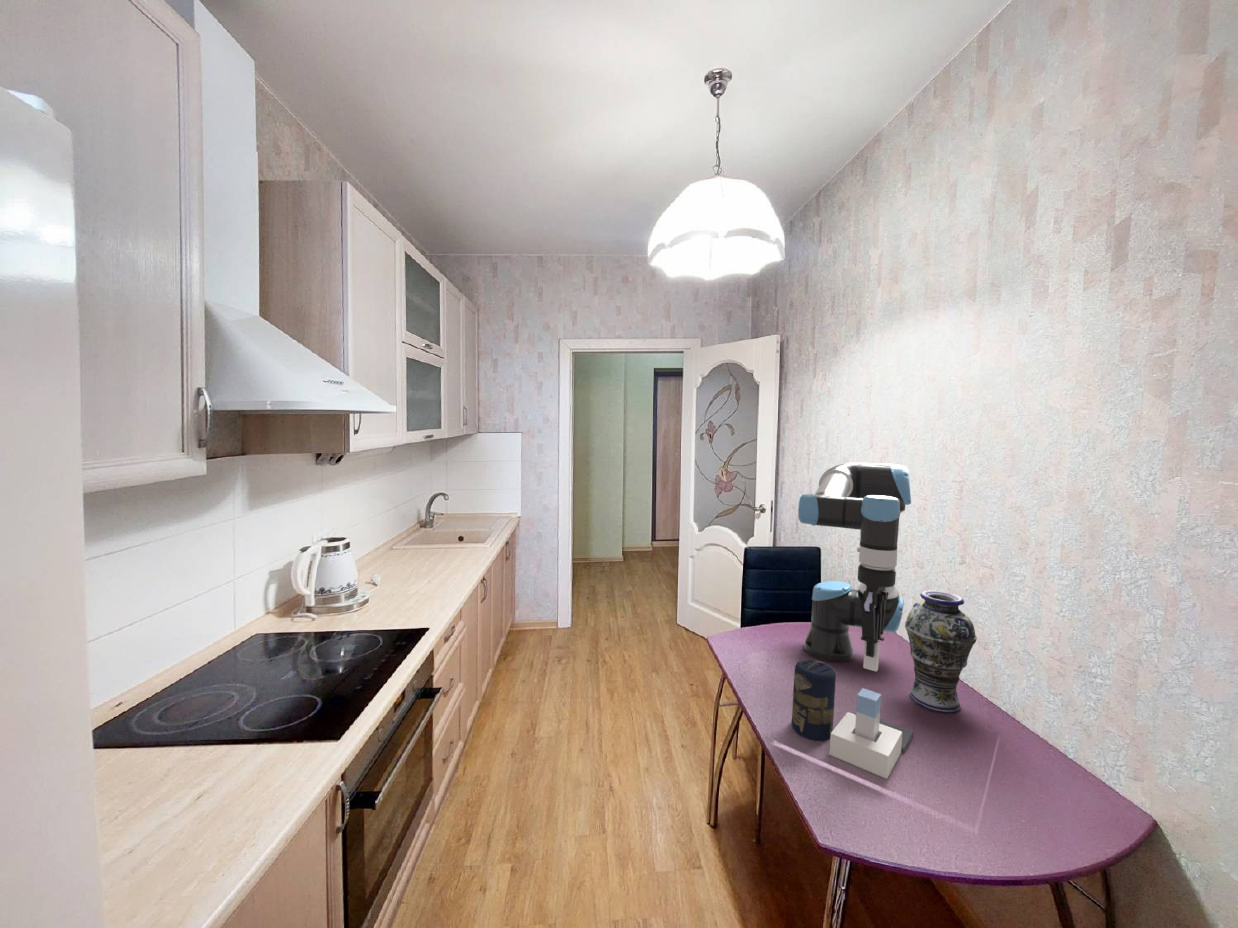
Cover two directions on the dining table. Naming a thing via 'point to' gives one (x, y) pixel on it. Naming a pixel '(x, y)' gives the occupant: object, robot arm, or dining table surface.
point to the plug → (868, 714)
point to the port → (866, 747)
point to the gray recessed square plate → (906, 734)
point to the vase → (938, 649)
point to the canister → (813, 699)
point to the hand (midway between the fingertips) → (870, 668)
